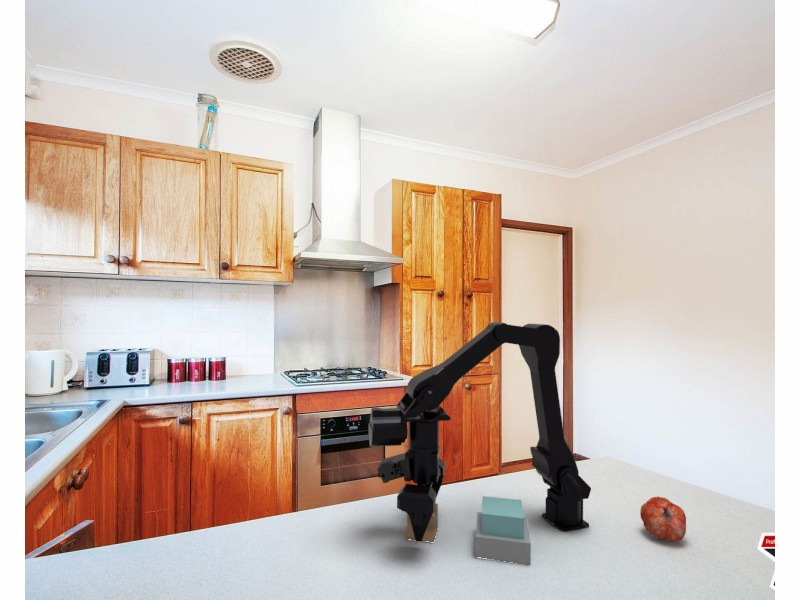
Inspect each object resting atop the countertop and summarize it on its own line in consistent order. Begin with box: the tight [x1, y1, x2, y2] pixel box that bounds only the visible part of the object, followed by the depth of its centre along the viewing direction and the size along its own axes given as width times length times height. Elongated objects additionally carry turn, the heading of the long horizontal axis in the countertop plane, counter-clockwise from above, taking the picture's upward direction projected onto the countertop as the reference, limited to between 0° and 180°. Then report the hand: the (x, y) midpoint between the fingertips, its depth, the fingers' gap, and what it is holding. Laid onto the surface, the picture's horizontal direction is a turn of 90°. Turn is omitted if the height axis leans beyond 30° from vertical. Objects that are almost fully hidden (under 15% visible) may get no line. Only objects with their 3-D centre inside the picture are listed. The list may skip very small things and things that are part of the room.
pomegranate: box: [639, 495, 687, 543], centre depth 79 cm, size 7×7×10 cm
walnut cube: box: [406, 502, 439, 543], centre depth 79 cm, size 5×5×5 cm
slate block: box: [474, 511, 532, 566], centre depth 75 cm, size 9×9×4 cm
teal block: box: [481, 495, 525, 539], centre depth 75 cm, size 7×7×4 cm
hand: (422, 527), depth 79 cm, fingers open, 9 cm apart
